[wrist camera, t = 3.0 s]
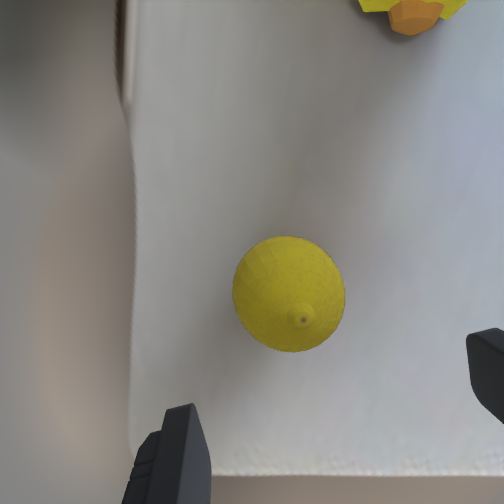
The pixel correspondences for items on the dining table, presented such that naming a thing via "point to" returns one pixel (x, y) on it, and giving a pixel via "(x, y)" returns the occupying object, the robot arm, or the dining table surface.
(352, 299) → the dining table surface
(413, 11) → the yellow faceted capsule
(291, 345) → the lemon
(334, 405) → the dining table surface
